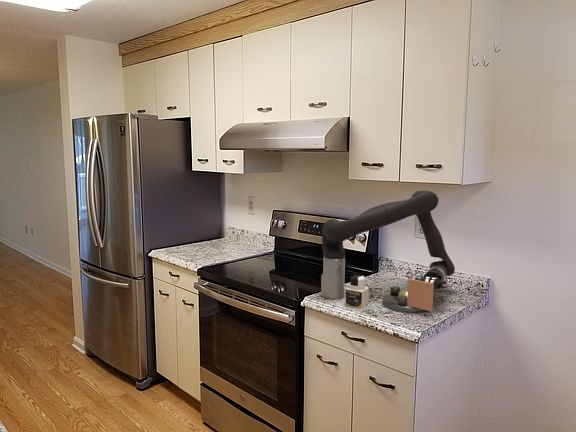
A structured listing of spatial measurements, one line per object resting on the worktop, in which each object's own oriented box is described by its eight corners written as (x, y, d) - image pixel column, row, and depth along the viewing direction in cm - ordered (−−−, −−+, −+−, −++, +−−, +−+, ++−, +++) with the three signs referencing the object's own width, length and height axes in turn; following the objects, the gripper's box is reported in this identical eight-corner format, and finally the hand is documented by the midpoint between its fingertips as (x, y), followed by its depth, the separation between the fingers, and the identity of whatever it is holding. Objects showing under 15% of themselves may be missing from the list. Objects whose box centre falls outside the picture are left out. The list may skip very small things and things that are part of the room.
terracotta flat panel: (395, 304, 183) (396, 278, 182) (400, 301, 186) (401, 276, 185) (429, 312, 174) (430, 284, 172) (434, 309, 177) (435, 282, 175)
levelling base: (375, 307, 186) (376, 294, 185) (390, 294, 203) (390, 282, 202) (426, 316, 176) (427, 302, 175) (437, 301, 194) (437, 289, 193)
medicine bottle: (345, 305, 188) (345, 276, 187) (352, 300, 194) (353, 273, 193) (361, 308, 185) (362, 279, 183) (368, 304, 190) (369, 275, 189)
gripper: (418, 266, 194) (408, 276, 179) (451, 270, 188) (444, 281, 173) (418, 284, 195) (408, 295, 180) (450, 288, 189) (443, 300, 174)
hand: (426, 288), depth 177 cm, fingers closed
